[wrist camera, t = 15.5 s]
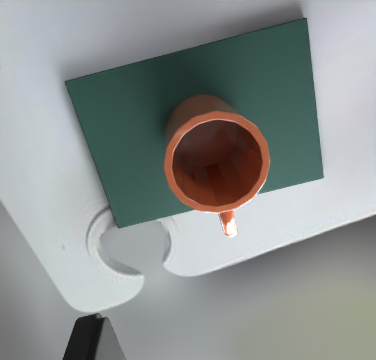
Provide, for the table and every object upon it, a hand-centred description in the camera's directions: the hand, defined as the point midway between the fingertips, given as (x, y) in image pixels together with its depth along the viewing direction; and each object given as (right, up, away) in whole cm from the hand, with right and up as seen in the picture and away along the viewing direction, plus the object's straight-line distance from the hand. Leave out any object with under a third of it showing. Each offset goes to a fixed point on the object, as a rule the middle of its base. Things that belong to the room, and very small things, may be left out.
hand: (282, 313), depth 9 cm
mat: (-1, +8, +21) cm, 22 cm away
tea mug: (-1, +6, +21) cm, 22 cm away
